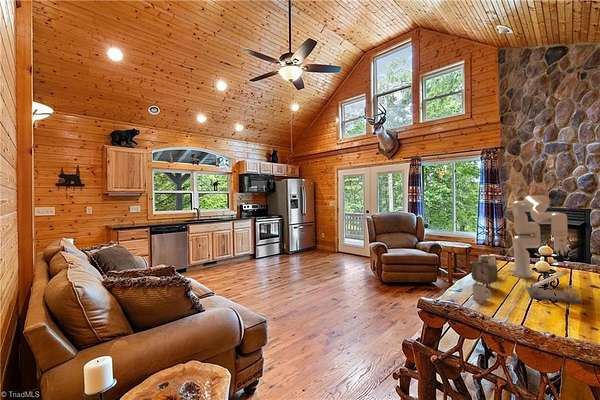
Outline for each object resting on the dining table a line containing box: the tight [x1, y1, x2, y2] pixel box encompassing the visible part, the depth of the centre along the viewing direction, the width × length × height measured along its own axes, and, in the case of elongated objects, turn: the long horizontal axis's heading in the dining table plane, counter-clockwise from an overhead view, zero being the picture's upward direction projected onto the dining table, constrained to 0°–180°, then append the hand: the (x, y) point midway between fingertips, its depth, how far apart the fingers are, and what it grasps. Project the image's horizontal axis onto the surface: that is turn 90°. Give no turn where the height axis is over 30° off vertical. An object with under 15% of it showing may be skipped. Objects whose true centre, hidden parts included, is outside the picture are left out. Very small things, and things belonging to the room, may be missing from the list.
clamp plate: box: [526, 282, 583, 305], centre depth 182 cm, size 24×16×7 cm, turn 57°
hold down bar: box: [532, 268, 571, 288], centre depth 182 cm, size 21×4×2 cm
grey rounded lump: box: [472, 283, 492, 302], centre depth 182 cm, size 7×10×9 cm
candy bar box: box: [478, 254, 497, 265], centre depth 231 cm, size 11×5×16 cm, turn 80°
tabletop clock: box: [470, 251, 499, 290], centre depth 205 cm, size 14×9×25 cm, turn 23°
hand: (560, 262), depth 179 cm, fingers closed
